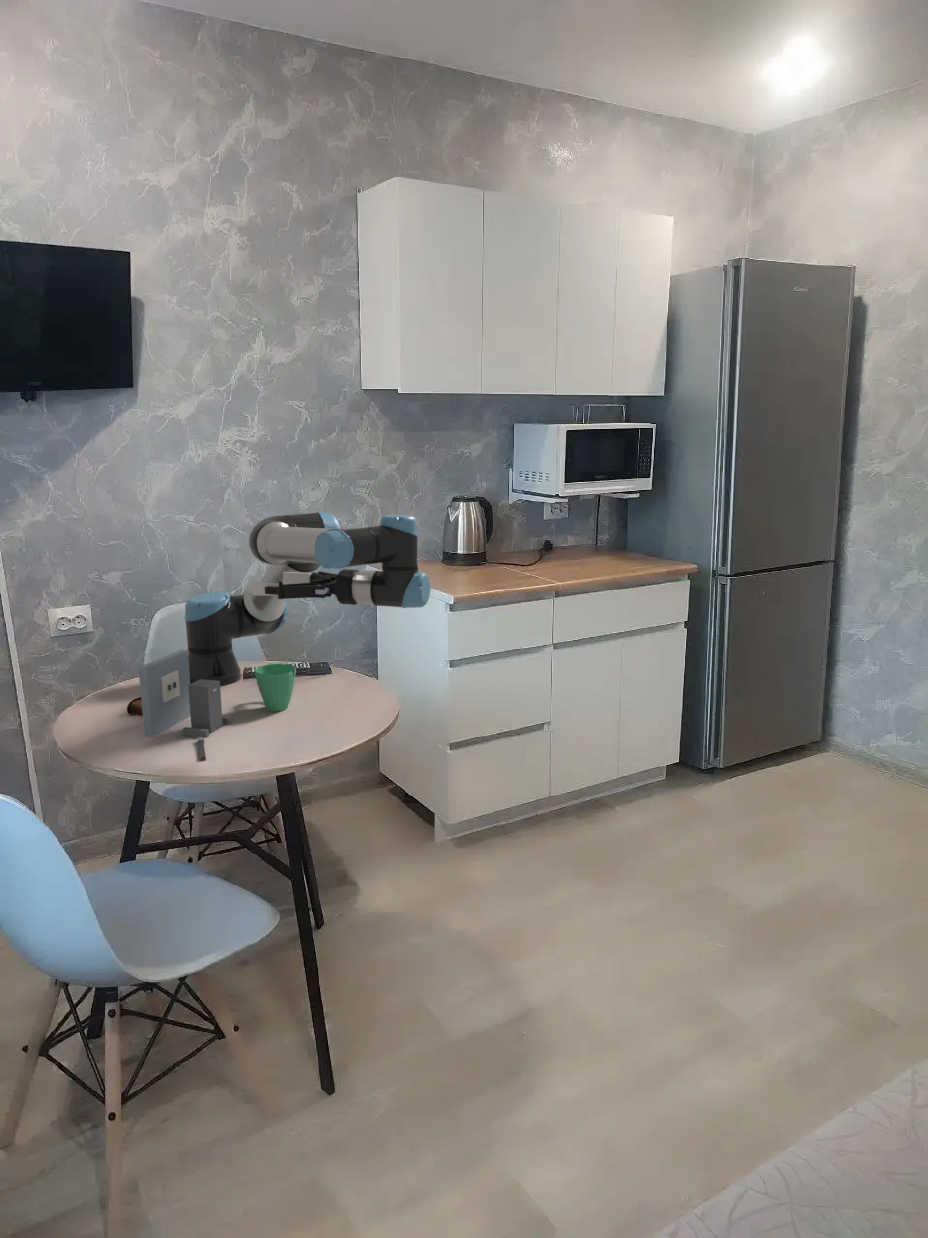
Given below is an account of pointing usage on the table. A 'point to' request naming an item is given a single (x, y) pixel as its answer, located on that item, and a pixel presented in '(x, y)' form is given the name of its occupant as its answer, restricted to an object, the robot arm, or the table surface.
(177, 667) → the outlet board
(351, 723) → the table surface
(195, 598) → the robot arm
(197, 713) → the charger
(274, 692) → the mug
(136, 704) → the sunglasses case
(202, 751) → the grey long bar
